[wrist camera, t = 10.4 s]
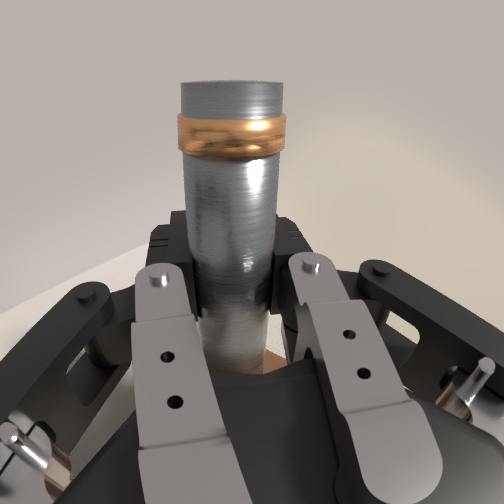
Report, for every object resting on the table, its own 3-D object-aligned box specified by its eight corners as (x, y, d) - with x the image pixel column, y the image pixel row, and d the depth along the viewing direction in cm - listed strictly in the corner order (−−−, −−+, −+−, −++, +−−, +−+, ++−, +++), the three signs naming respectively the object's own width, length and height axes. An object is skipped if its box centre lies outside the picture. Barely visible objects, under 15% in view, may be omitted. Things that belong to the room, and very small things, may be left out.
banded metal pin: (211, 439, 13) (173, 84, 5) (205, 395, 15) (178, 82, 8) (266, 432, 13) (303, 85, 6) (255, 390, 15) (272, 81, 8)
